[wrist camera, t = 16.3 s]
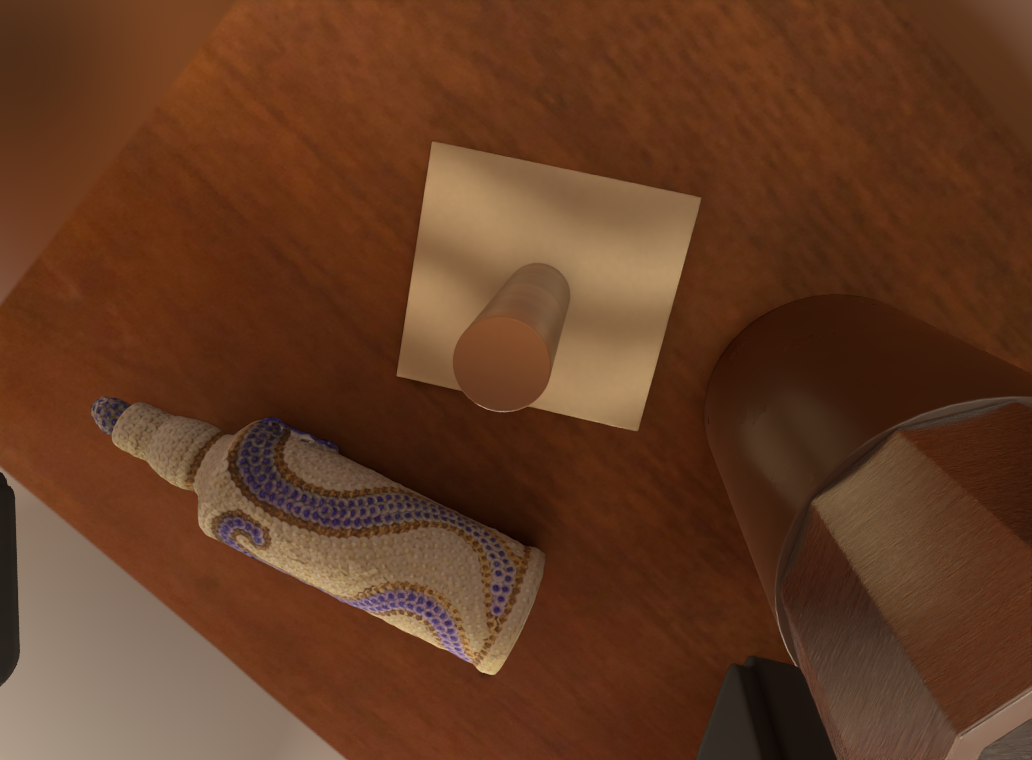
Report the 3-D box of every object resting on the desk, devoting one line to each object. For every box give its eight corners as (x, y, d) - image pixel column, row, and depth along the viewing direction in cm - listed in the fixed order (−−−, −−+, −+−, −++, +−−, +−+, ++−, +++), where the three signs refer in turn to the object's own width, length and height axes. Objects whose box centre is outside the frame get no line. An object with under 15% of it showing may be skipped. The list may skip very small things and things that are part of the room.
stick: (512, 256, 34) (461, 306, 22) (576, 270, 34) (560, 328, 22) (500, 318, 35) (445, 400, 23) (562, 332, 35) (539, 422, 23)
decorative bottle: (561, 530, 40) (552, 600, 33) (504, 627, 42) (486, 709, 36) (149, 326, 39) (60, 357, 33) (116, 436, 41) (27, 485, 35)
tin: (742, 270, 34) (1055, 503, 11) (988, 323, 34) (1915, 699, 10) (677, 486, 38) (800, 1018, 14) (898, 537, 37) (1414, 1186, 14)
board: (437, 141, 34) (431, 141, 33) (698, 196, 34) (702, 197, 32) (402, 370, 38) (396, 376, 37) (637, 423, 37) (637, 431, 36)
